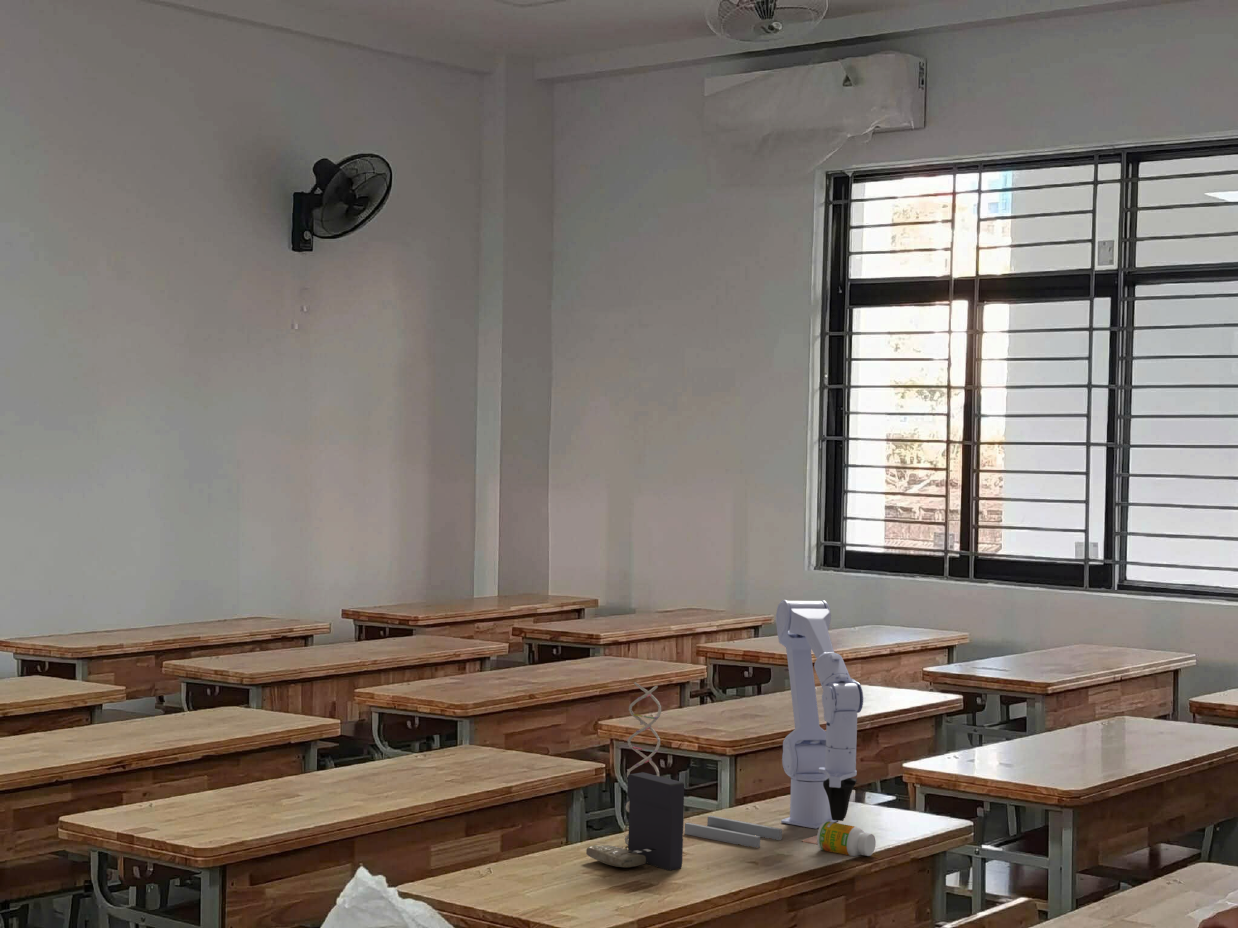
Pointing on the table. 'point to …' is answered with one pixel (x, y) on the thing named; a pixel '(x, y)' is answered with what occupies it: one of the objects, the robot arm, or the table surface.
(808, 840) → the tile
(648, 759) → the dna model
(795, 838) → the table surface
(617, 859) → the cuneiform tablet
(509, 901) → the table surface
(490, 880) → the table surface
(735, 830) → the channel
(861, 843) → the supplement bottle
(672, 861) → the black upright block
